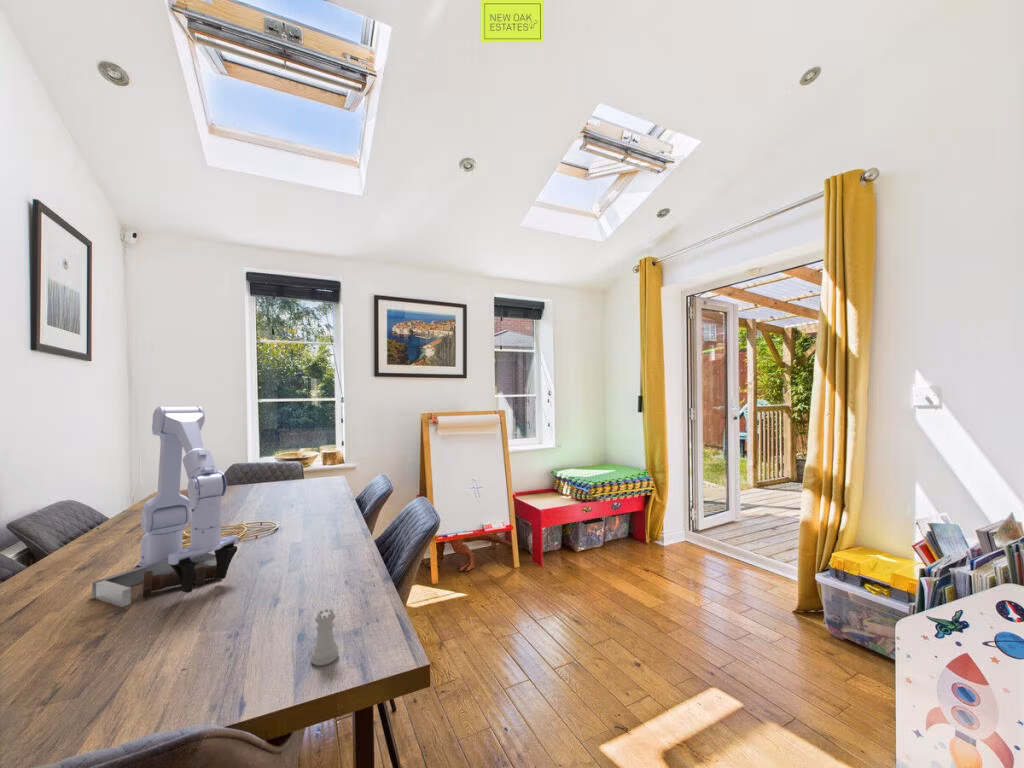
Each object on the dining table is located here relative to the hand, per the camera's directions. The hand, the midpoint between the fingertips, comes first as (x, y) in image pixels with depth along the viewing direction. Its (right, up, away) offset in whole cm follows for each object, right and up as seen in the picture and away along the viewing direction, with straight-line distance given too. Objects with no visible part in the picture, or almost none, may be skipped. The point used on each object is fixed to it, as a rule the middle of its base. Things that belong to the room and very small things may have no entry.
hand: (204, 584), depth 99 cm
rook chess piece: (+39, -1, -25) cm, 47 cm away
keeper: (-13, -2, +5) cm, 15 cm away
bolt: (-7, -2, +3) cm, 8 cm away
